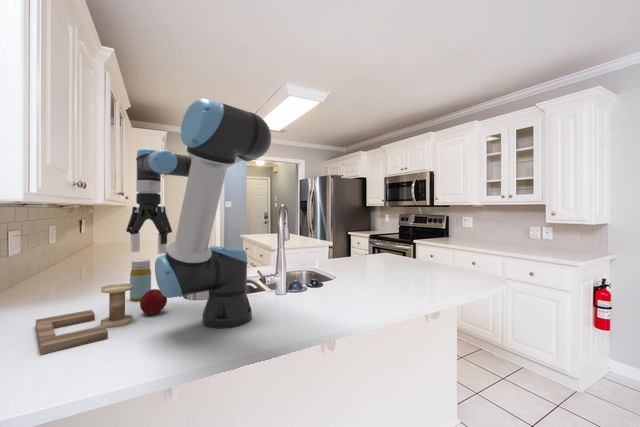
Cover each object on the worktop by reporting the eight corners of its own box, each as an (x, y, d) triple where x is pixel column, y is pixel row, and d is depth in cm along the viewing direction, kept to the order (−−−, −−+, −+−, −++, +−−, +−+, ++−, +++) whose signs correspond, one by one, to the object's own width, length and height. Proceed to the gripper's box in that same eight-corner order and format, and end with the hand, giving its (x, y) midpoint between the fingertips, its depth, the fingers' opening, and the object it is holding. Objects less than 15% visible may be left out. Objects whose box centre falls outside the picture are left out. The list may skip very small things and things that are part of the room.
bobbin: (135, 322, 90) (136, 286, 90) (103, 329, 84) (104, 291, 84) (128, 315, 96) (129, 282, 96) (98, 321, 90) (98, 286, 90)
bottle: (154, 296, 117) (155, 259, 117) (142, 301, 110) (143, 262, 110) (138, 295, 118) (139, 258, 118) (125, 300, 111) (126, 261, 111)
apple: (144, 319, 93) (145, 294, 93) (136, 313, 98) (137, 289, 98) (170, 313, 98) (170, 289, 98) (161, 308, 104) (161, 285, 104)
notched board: (107, 338, 78) (107, 330, 78) (40, 354, 69) (40, 346, 69) (91, 315, 95) (91, 309, 95) (35, 326, 86) (35, 319, 86)
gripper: (183, 192, 104) (182, 252, 103) (135, 195, 113) (134, 250, 113) (164, 191, 97) (164, 255, 96) (115, 193, 106) (114, 252, 106)
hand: (148, 252), depth 105 cm, fingers open, 13 cm apart
